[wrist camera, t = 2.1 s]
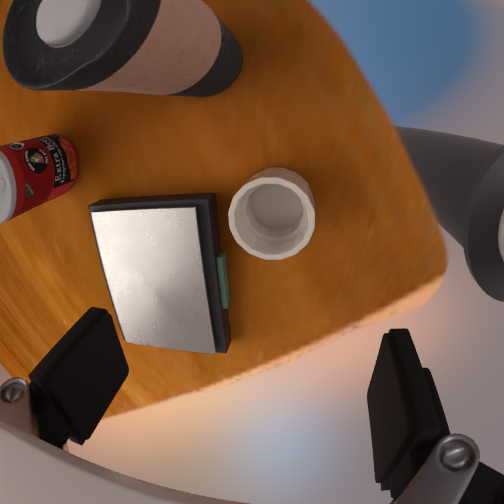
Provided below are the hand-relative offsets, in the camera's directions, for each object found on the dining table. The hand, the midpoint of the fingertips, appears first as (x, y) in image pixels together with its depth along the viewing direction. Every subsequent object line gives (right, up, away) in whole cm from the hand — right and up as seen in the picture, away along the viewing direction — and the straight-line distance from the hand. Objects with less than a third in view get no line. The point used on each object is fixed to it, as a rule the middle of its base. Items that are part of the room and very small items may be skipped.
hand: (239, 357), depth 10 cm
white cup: (+3, +8, +20) cm, 22 cm away
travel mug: (-4, +21, +15) cm, 26 cm away
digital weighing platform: (-10, 0, +23) cm, 25 cm away
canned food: (-23, +14, +22) cm, 35 cm away
